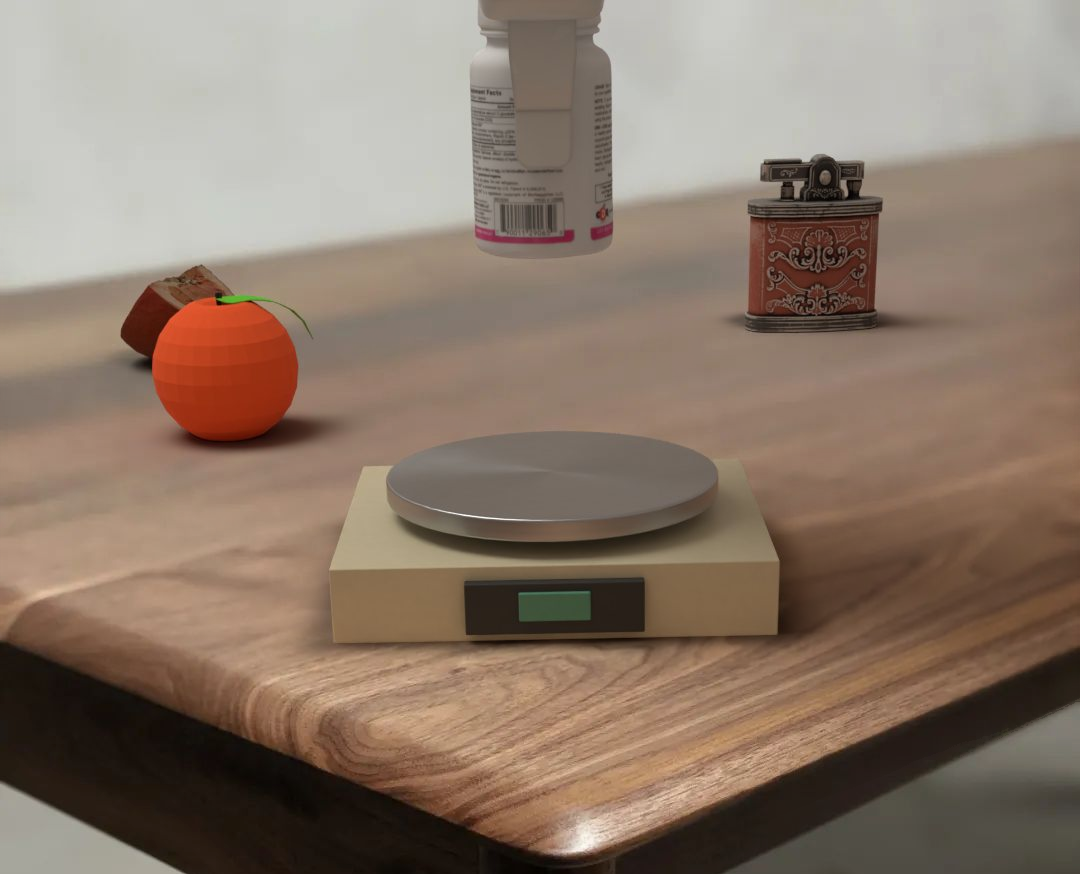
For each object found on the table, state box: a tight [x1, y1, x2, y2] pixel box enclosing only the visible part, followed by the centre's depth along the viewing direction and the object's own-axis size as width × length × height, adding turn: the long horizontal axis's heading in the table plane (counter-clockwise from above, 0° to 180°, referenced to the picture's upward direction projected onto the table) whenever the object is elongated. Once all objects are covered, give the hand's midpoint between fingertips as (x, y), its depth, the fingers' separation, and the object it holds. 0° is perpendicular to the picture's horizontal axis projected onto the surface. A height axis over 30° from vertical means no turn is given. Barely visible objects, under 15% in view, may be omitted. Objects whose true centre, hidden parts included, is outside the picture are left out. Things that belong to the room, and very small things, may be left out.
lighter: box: [744, 153, 884, 333], centre depth 110 cm, size 8×3×10 cm, turn 94°
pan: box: [386, 430, 718, 542], centre depth 67 cm, size 12×12×1 cm
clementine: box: [151, 293, 314, 442], centre depth 88 cm, size 8×7×7 cm
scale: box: [328, 458, 781, 644], centre depth 67 cm, size 15×14×3 cm
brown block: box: [119, 264, 236, 360], centre depth 106 cm, size 8×7×5 cm
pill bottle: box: [469, 0, 614, 260], centre depth 62 cm, size 5×5×8 cm
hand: (544, 156), depth 62 cm, fingers closed on pill bottle, 5 cm apart
